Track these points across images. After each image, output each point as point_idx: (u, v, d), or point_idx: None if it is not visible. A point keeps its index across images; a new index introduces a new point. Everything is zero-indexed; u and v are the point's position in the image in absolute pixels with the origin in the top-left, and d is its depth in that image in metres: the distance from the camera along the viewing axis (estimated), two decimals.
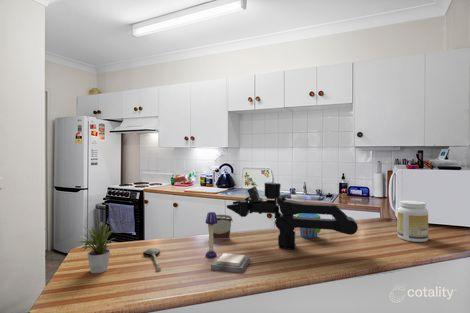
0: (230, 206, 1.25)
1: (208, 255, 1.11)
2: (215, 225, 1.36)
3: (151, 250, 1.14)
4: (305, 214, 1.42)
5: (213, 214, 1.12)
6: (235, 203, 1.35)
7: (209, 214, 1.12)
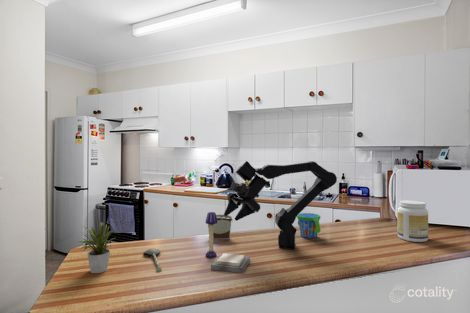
0: (238, 216, 1.13)
1: (208, 255, 1.11)
2: (215, 225, 1.36)
3: (151, 250, 1.13)
4: (305, 214, 1.42)
5: (213, 214, 1.12)
6: (227, 213, 1.22)
7: (209, 214, 1.12)
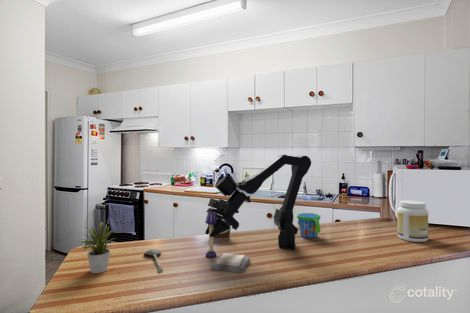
0: (213, 232, 1.11)
1: (208, 255, 1.11)
2: None
3: (152, 251, 1.13)
4: (305, 214, 1.42)
5: (213, 214, 1.12)
6: (208, 231, 1.15)
7: (209, 214, 1.12)
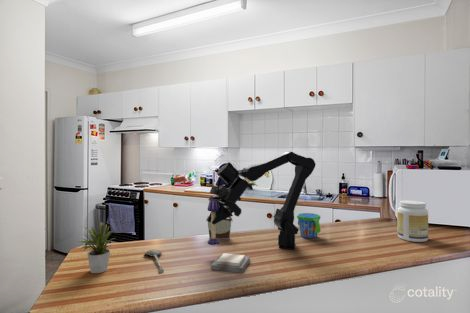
0: (216, 219, 1.10)
1: (210, 242, 1.10)
2: None
3: (152, 251, 1.12)
4: (305, 214, 1.42)
5: (215, 201, 1.11)
6: (210, 219, 1.14)
7: (211, 201, 1.11)
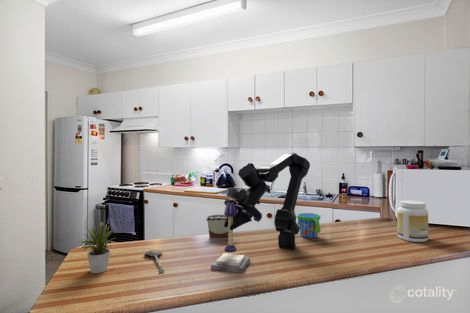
0: (234, 225, 1.01)
1: (228, 250, 1.02)
2: (215, 225, 1.36)
3: (153, 251, 1.12)
4: (305, 214, 1.42)
5: (233, 205, 1.03)
6: (227, 224, 1.05)
7: (228, 205, 1.03)
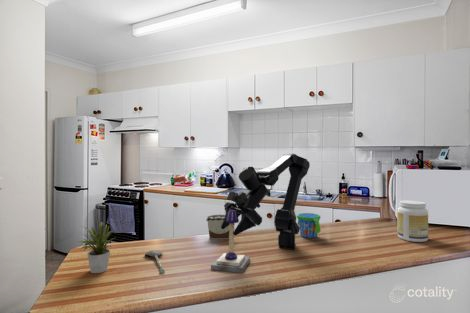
0: (237, 230, 0.99)
1: (228, 257, 1.02)
2: (215, 225, 1.36)
3: (153, 252, 1.12)
4: (305, 214, 1.42)
5: (234, 212, 1.03)
6: (224, 226, 1.07)
7: (230, 212, 1.03)
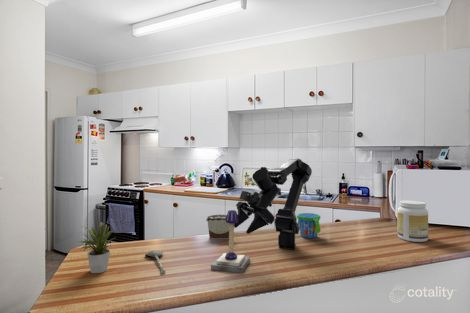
0: (250, 228, 1.02)
1: (228, 257, 1.02)
2: (215, 225, 1.36)
3: (153, 252, 1.11)
4: (305, 214, 1.42)
5: (234, 212, 1.03)
6: (236, 224, 1.10)
7: (230, 212, 1.03)
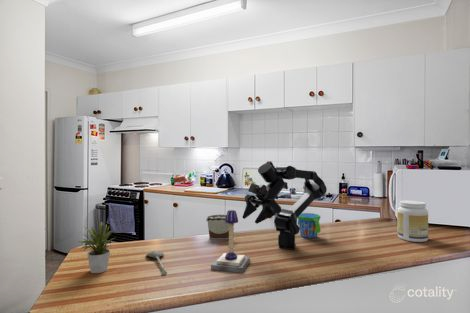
0: (259, 219, 1.09)
1: (228, 257, 1.02)
2: (215, 225, 1.36)
3: (154, 253, 1.10)
4: (305, 214, 1.42)
5: (234, 212, 1.03)
6: (245, 215, 1.17)
7: (229, 212, 1.03)
